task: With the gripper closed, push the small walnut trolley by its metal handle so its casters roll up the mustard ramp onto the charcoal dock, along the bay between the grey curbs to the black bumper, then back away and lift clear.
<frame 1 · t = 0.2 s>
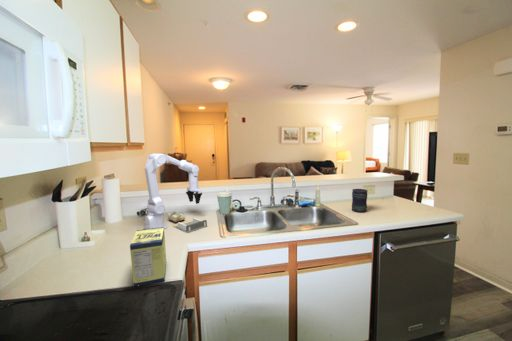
hand: (194, 202, 157), 10 cm above the worktop, tool pointing down, fingers open, 7 cm apart
protein box: (151, 273, 91), on the worktop
disposable coffee cup: (225, 213, 166), on the worktop
storage jar: (359, 211, 166), on the worktop
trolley: (176, 221, 151), on the worktop
loading dock: (191, 227, 139), on the worktop
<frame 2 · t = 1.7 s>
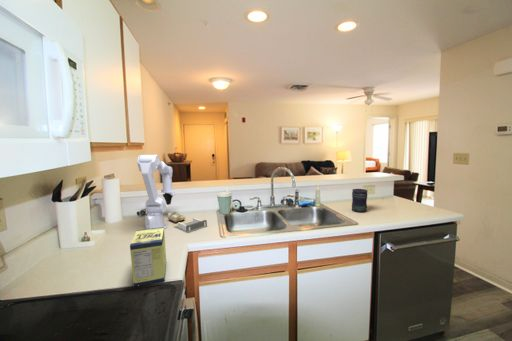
hand: (168, 204, 156), 9 cm above the worktop, tool pointing down, fingers closed
nothing on the worktop moved.
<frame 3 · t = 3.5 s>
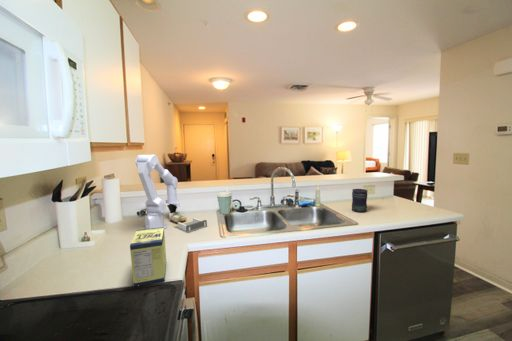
hand: (173, 215, 153), 3 cm above the worktop, tool pointing down, fingers closed
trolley: (178, 221, 150), on the worktop, touching gripper
everything else where it was.
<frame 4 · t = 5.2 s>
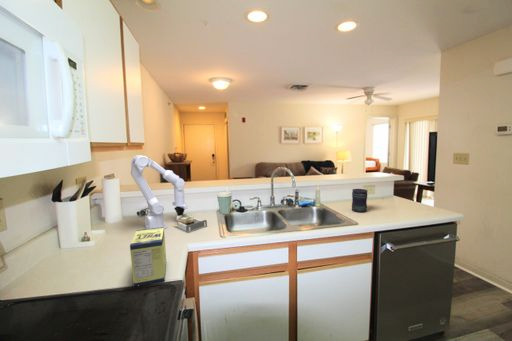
hand: (180, 218, 147), 3 cm above the worktop, tool pointing down, fingers closed
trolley: (186, 223, 143), point 1 cm above the worktop, tilted 6°, touching gripper, loading dock
everything else where it was.
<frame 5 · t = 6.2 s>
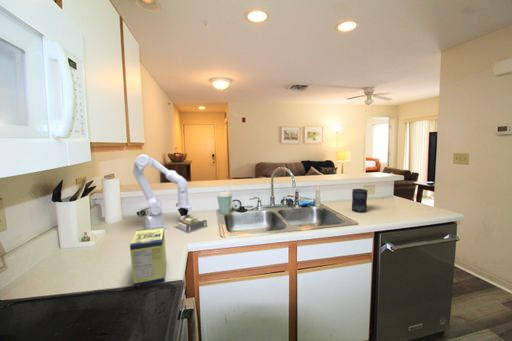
hand: (184, 219, 144), 3 cm above the worktop, tool pointing down, fingers closed
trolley: (190, 224, 141), point 1 cm above the worktop, touching gripper, loading dock
everything else where it was.
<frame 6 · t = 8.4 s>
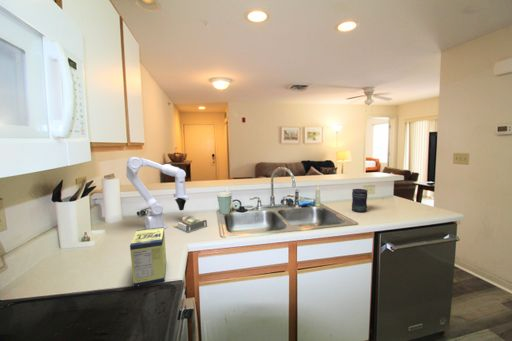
hand: (181, 210, 145), 9 cm above the worktop, tool pointing down, fingers closed
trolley: (192, 225, 139), point 1 cm above the worktop, touching loading dock
everything else where it was.
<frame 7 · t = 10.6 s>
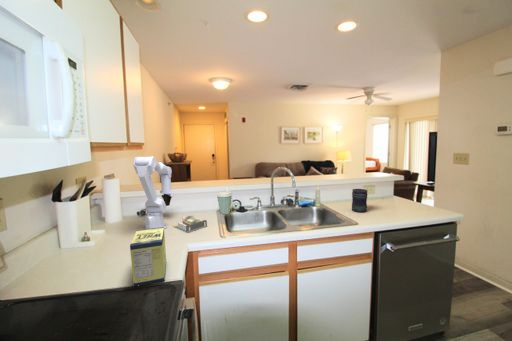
hand: (167, 205, 153), 9 cm above the worktop, tool pointing down, fingers closed
nothing on the worktop moved.
at the end: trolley 0.3 cm off-centre on the loading dock, point 1.0 cm above the loading dock's base; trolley tilted 0°; the gripper is holding nothing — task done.
